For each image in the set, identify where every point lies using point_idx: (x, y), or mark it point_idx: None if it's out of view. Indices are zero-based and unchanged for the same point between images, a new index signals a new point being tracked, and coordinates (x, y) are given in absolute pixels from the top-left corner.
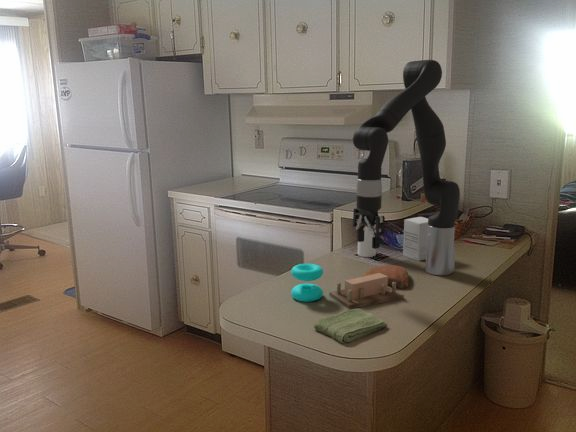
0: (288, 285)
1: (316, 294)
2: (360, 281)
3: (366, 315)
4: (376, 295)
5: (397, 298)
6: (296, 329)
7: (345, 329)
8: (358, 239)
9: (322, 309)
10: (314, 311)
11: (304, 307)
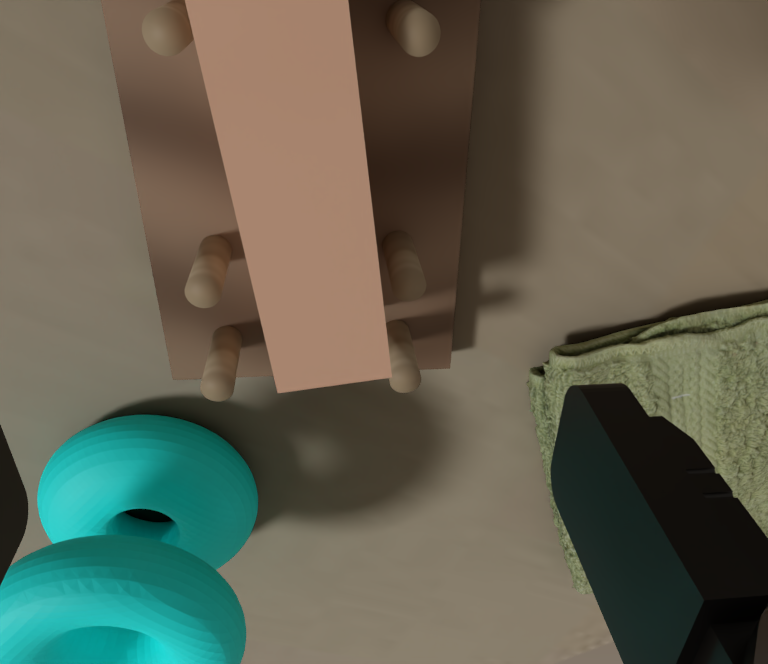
0: None
1: (246, 496)
2: (354, 289)
3: (679, 375)
4: (384, 86)
5: None
6: (522, 617)
7: None
8: (12, 559)
9: (377, 473)
10: (382, 512)
11: (309, 534)
